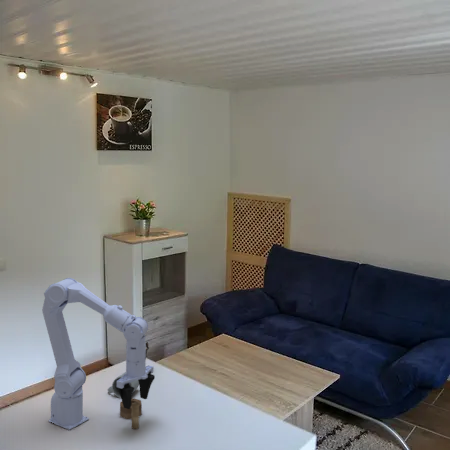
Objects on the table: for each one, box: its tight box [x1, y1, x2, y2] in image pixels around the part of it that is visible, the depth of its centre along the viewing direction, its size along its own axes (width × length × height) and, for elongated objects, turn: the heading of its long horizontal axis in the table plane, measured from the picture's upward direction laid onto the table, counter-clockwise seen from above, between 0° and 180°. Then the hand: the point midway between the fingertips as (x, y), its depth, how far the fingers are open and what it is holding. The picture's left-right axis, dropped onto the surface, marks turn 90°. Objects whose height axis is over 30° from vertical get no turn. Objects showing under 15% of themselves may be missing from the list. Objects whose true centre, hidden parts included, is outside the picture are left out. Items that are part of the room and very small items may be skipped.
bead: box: [119, 398, 143, 420], centre depth 155 cm, size 7×7×4 cm
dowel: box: [130, 402, 140, 430], centre depth 146 cm, size 2×2×8 cm
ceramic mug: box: [107, 371, 139, 399], centre depth 170 cm, size 11×8×8 cm
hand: (135, 402), depth 146 cm, fingers open, 7 cm apart
